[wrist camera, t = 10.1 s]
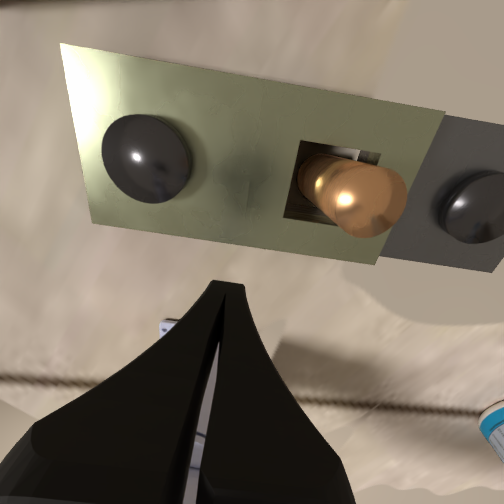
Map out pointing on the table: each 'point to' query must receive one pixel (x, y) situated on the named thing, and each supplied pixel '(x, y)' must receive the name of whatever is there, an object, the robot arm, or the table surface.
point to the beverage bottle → (494, 427)
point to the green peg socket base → (275, 161)
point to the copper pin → (353, 193)
